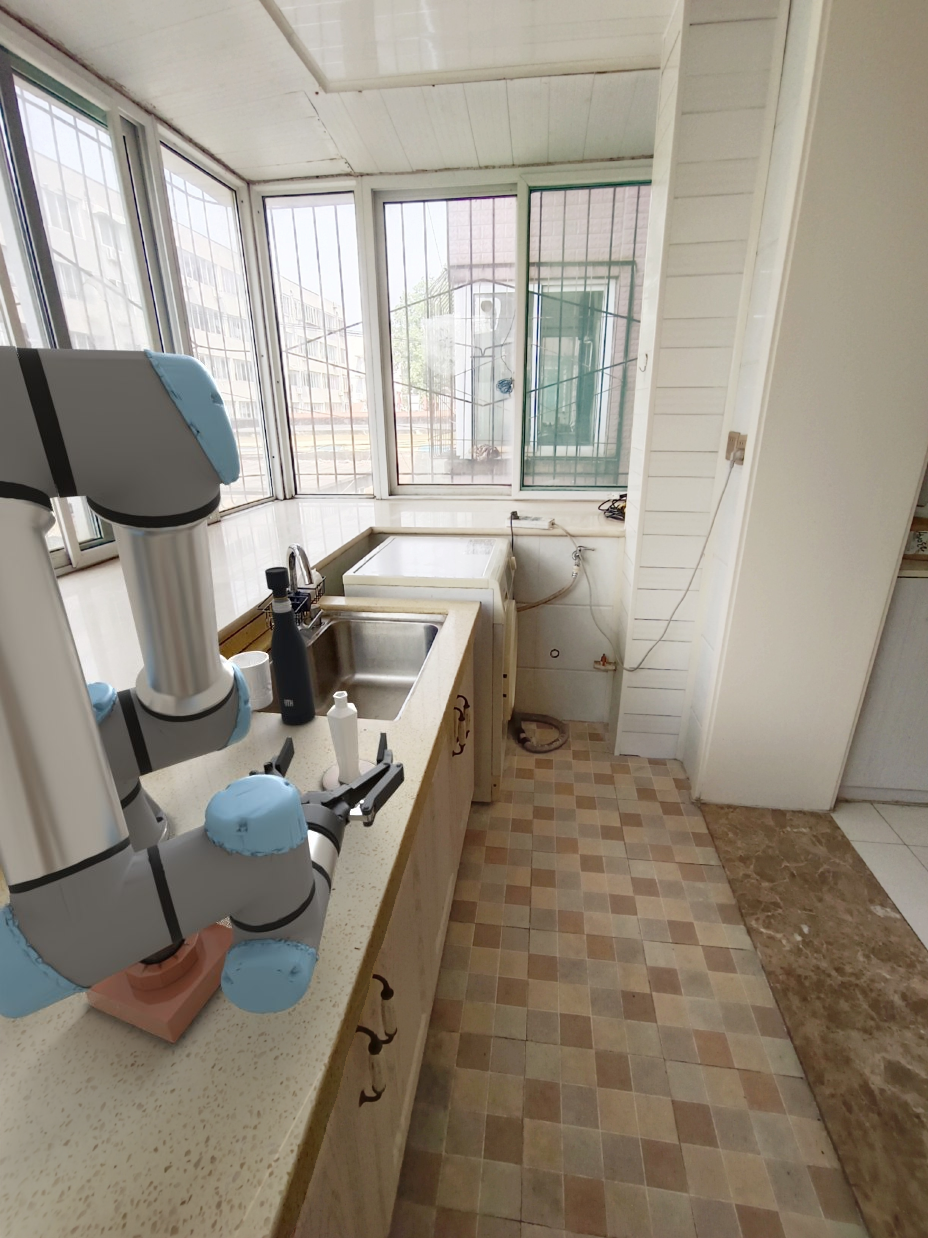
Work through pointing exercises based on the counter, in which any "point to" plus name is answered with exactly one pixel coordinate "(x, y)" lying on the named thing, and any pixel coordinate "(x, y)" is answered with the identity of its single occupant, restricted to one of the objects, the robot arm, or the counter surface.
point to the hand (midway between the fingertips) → (337, 742)
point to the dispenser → (167, 985)
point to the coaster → (331, 775)
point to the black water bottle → (289, 654)
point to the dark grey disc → (163, 953)
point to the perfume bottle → (345, 737)
